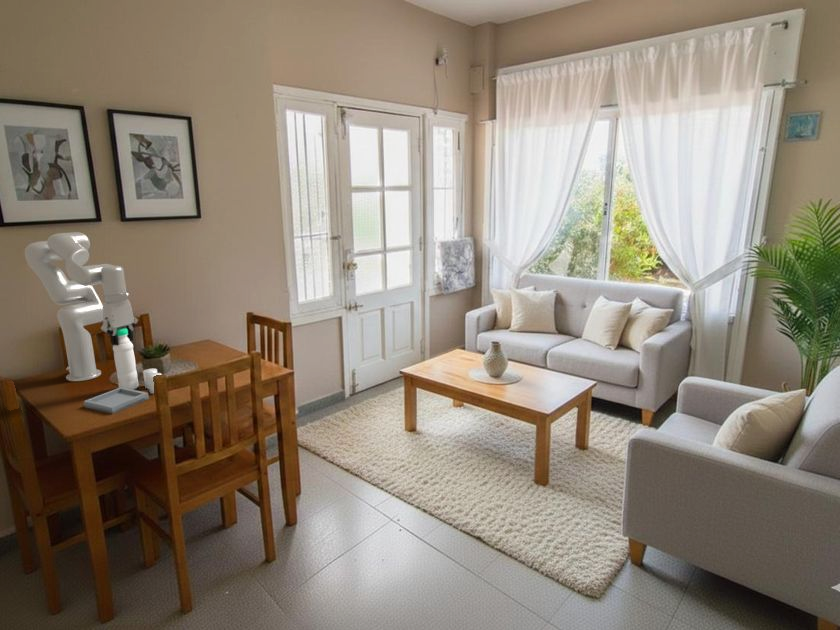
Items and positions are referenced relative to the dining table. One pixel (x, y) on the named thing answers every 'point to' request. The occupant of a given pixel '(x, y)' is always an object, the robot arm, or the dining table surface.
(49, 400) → the dining table surface
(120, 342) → the water bottle
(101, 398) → the tray
